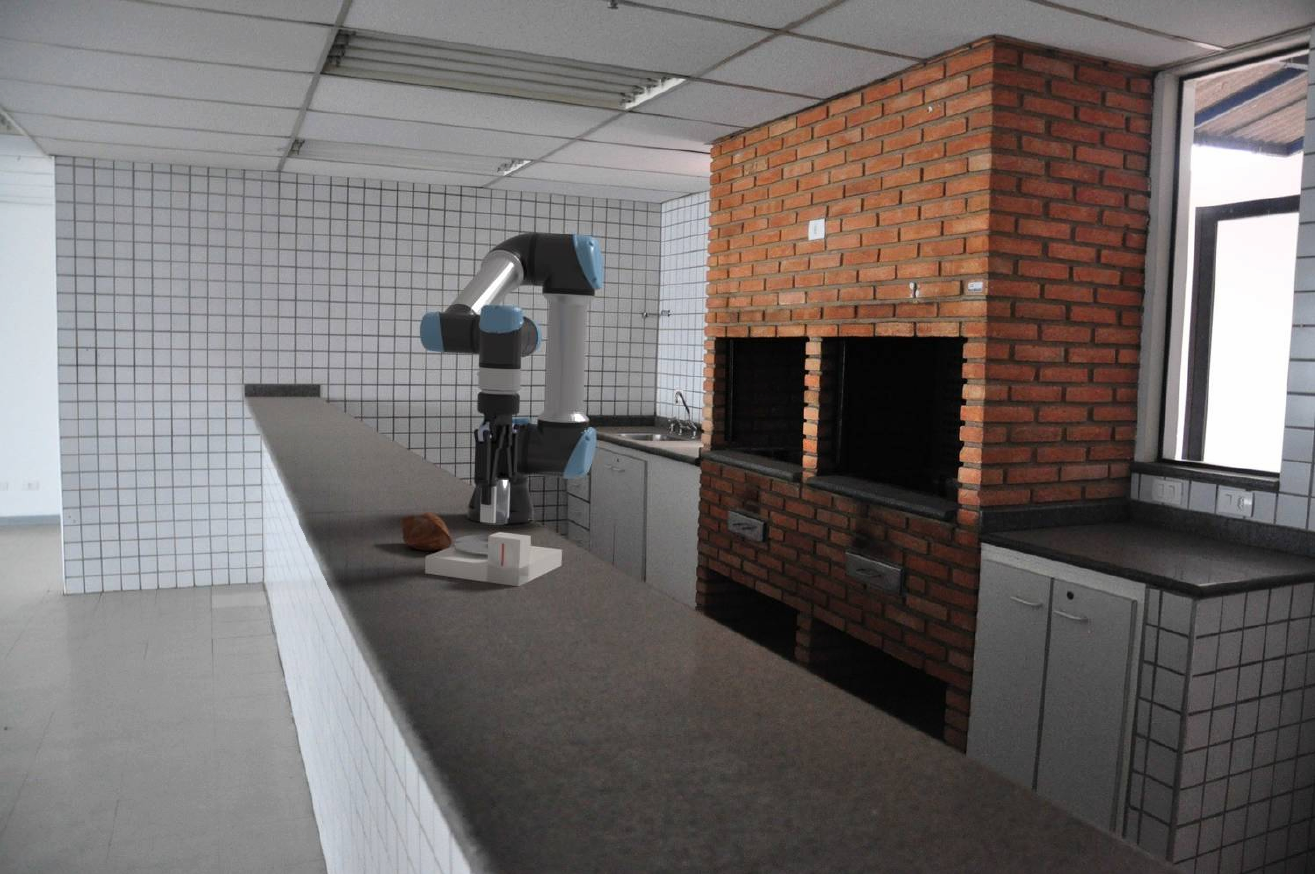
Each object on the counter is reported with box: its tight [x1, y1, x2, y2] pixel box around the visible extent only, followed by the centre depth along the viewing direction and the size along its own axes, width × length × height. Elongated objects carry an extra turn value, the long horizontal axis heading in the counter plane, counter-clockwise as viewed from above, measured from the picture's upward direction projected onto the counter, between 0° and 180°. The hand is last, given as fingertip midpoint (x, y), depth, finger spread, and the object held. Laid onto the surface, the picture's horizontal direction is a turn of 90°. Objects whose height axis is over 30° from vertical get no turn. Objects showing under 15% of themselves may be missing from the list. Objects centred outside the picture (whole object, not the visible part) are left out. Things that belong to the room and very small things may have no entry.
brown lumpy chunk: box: [399, 512, 453, 552], centre depth 194 cm, size 13×8×10 cm
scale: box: [424, 531, 563, 587], centre depth 180 cm, size 18×18×8 cm
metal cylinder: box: [481, 477, 509, 526], centre depth 182 cm, size 5×5×8 cm
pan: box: [452, 534, 532, 555], centre depth 182 cm, size 14×14×2 cm
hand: (494, 519), depth 183 cm, fingers closed on metal cylinder, 5 cm apart
